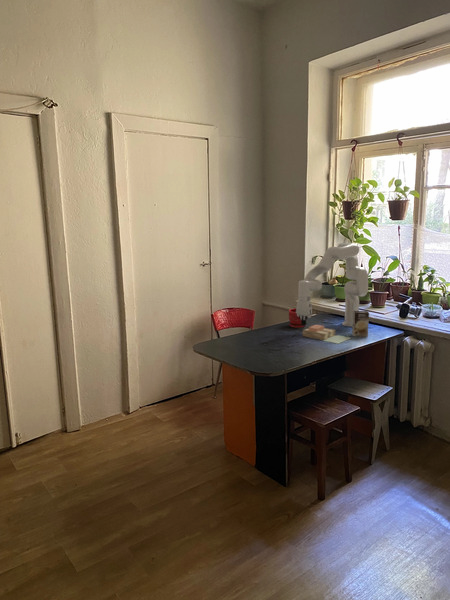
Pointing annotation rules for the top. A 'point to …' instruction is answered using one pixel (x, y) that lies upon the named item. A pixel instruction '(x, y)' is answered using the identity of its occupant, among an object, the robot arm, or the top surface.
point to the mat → (337, 339)
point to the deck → (319, 333)
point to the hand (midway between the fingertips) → (303, 325)
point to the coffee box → (360, 323)
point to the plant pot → (294, 319)
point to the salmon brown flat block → (316, 328)
